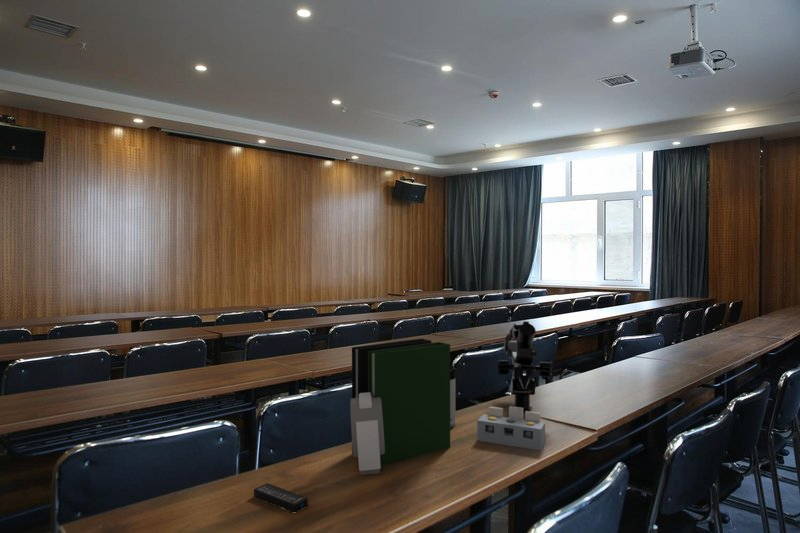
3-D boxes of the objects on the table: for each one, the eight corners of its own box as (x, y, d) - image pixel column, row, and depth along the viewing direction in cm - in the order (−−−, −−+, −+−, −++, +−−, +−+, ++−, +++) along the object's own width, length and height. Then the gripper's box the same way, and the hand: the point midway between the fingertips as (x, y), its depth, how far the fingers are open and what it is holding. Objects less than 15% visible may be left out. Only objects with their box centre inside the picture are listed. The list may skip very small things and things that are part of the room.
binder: (376, 469, 138) (376, 353, 138) (349, 452, 150) (349, 346, 150) (450, 447, 154) (450, 344, 154) (420, 434, 166) (420, 338, 166)
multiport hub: (267, 491, 125) (267, 482, 125) (308, 507, 117) (308, 497, 117) (253, 498, 122) (252, 489, 122) (294, 515, 113) (294, 505, 113)
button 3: (525, 429, 161) (525, 411, 161) (540, 431, 159) (540, 412, 159) (520, 436, 154) (520, 417, 154) (535, 439, 152) (535, 419, 152)
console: (483, 433, 166) (483, 413, 166) (545, 443, 157) (545, 421, 157) (477, 440, 159) (477, 419, 159) (541, 450, 151) (541, 428, 151)
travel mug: (455, 428, 171) (455, 370, 171) (436, 427, 172) (436, 369, 172) (457, 423, 177) (457, 366, 177) (438, 421, 178) (438, 366, 178)
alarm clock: (355, 453, 148) (350, 386, 147) (383, 450, 149) (379, 384, 148) (354, 482, 130) (349, 406, 129) (387, 478, 131) (382, 403, 130)
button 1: (489, 424, 166) (489, 406, 166) (502, 426, 164) (502, 408, 164) (483, 431, 159) (483, 412, 159) (497, 433, 157) (497, 414, 157)
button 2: (509, 424, 166) (509, 406, 166) (523, 425, 164) (523, 407, 164) (504, 430, 160) (504, 412, 160) (518, 432, 158) (518, 414, 158)
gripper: (498, 338, 182) (496, 375, 172) (551, 340, 178) (553, 378, 167) (499, 355, 190) (497, 391, 179) (549, 357, 186) (551, 395, 175)
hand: (524, 388), depth 175 cm, fingers closed
